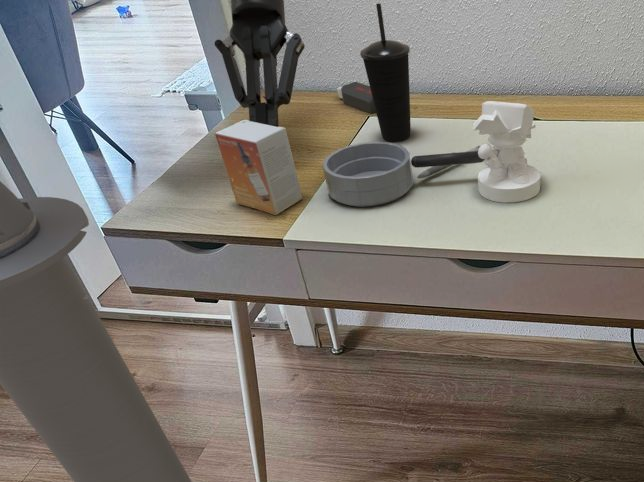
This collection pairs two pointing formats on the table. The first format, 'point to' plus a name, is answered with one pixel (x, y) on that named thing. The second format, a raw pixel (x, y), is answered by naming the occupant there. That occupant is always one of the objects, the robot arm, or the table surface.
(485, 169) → the character figurine
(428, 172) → the pen
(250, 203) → the small box
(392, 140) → the drinking cup
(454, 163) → the pan handle
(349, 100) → the usb drive
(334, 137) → the table surface
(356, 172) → the pan
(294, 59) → the robot arm
